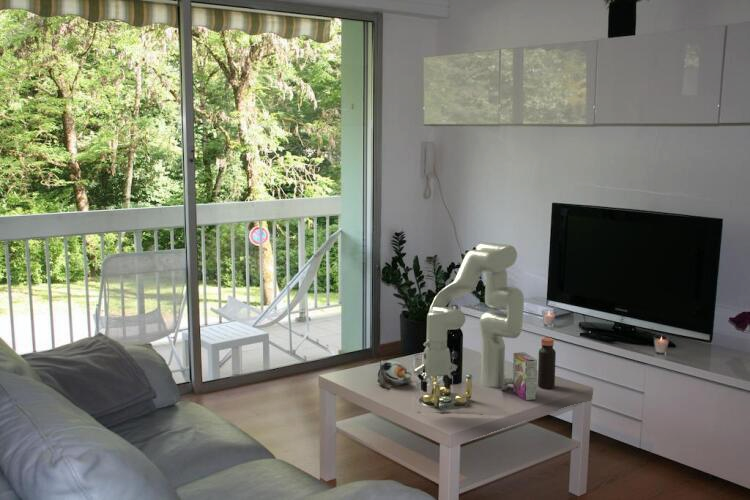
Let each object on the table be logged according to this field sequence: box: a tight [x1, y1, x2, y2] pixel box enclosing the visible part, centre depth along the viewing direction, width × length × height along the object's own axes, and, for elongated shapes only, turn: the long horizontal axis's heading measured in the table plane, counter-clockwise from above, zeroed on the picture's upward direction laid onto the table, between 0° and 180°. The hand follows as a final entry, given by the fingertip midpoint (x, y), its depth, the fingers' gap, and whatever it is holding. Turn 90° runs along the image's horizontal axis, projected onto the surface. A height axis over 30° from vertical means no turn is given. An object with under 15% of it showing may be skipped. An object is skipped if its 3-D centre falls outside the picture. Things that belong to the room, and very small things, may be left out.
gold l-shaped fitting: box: [422, 381, 441, 406], centre depth 294 cm, size 9×4×10 cm, turn 24°
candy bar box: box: [512, 351, 538, 401], centre depth 308 cm, size 11×5×16 cm, turn 17°
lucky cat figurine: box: [377, 360, 412, 390], centre depth 321 cm, size 15×12×14 cm
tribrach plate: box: [418, 392, 472, 415], centre depth 300 cm, size 20×20×3 cm
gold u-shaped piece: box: [431, 376, 452, 396], centre depth 304 cm, size 9×4×10 cm, turn 128°
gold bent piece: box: [455, 373, 473, 405], centre depth 297 cm, size 9×4×10 cm, turn 144°
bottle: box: [537, 337, 557, 390], centre depth 320 cm, size 7×7×20 cm
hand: (435, 389), depth 290 cm, fingers open, 9 cm apart
